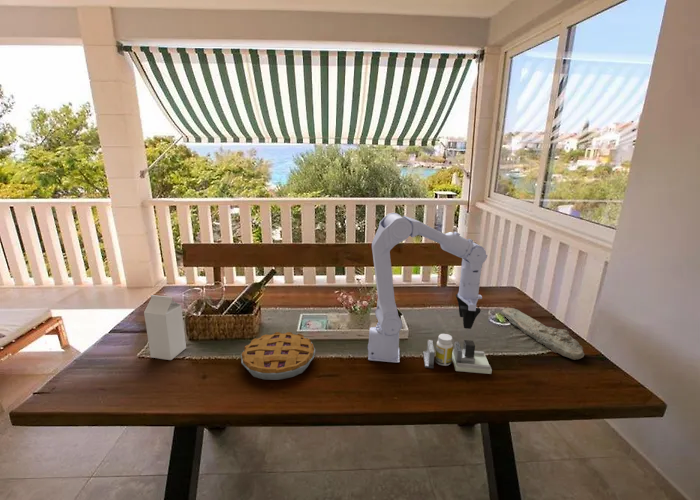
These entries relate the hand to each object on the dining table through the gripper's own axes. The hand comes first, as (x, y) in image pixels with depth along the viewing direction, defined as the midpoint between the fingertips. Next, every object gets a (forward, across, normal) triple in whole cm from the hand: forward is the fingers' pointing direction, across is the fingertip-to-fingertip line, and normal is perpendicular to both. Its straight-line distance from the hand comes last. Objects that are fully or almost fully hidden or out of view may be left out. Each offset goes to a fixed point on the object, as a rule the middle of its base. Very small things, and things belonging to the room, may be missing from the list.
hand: (465, 322), depth 110 cm
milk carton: (+10, -16, +91) cm, 93 cm away
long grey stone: (+11, +16, -28) cm, 34 cm away
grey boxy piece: (+8, -8, +1) cm, 11 cm away
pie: (+10, -15, +56) cm, 59 cm away
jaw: (+10, -8, +11) cm, 17 cm away
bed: (+10, -7, -1) cm, 12 cm away
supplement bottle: (+10, -8, +7) cm, 14 cm away
